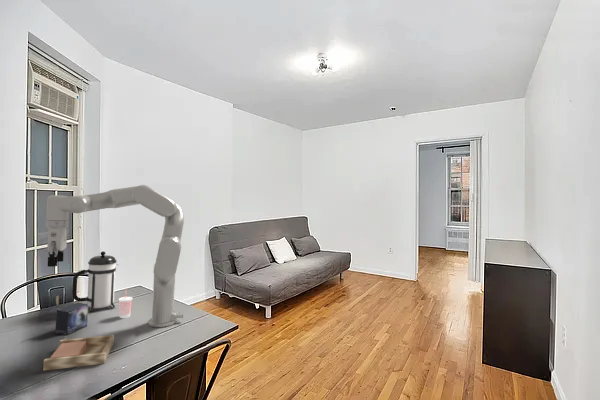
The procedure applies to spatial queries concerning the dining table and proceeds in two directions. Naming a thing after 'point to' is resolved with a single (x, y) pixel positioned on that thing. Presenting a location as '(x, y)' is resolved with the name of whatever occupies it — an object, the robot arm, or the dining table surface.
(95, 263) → the coffee press
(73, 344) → the cover plate
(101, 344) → the wooden tray
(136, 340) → the dining table surface
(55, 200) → the robot arm
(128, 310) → the beverage cup
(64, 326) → the small box
